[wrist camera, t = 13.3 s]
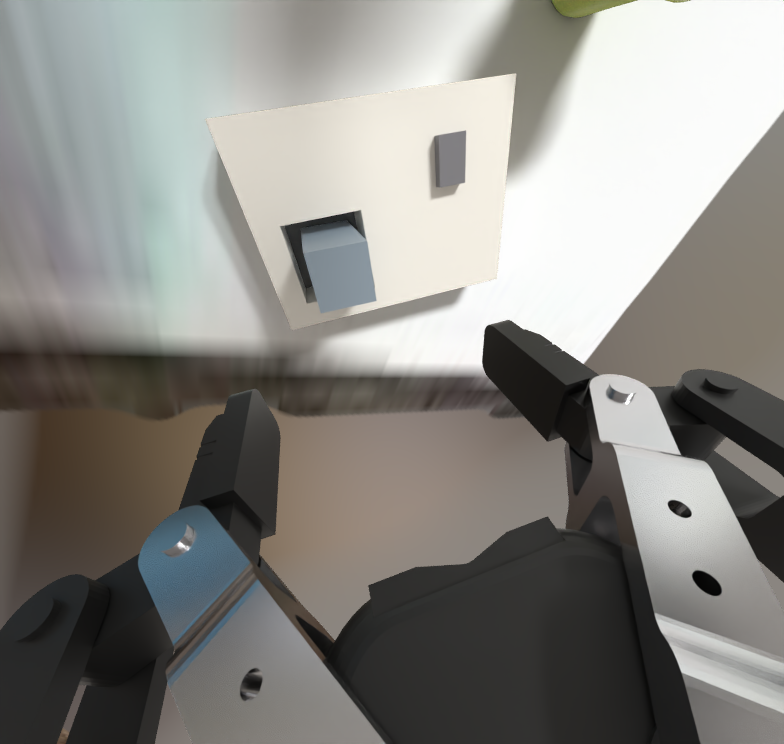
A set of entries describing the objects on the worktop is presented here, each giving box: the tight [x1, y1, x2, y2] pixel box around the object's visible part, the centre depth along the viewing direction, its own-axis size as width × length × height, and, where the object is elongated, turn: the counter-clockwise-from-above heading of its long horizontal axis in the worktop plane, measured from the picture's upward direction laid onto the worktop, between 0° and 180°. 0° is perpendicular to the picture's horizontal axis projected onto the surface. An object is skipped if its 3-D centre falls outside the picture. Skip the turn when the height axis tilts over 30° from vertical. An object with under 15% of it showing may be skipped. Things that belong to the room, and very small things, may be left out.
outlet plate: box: [205, 73, 516, 330], centre depth 23 cm, size 14×20×5 cm
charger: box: [301, 220, 377, 313], centre depth 22 cm, size 4×4×9 cm
